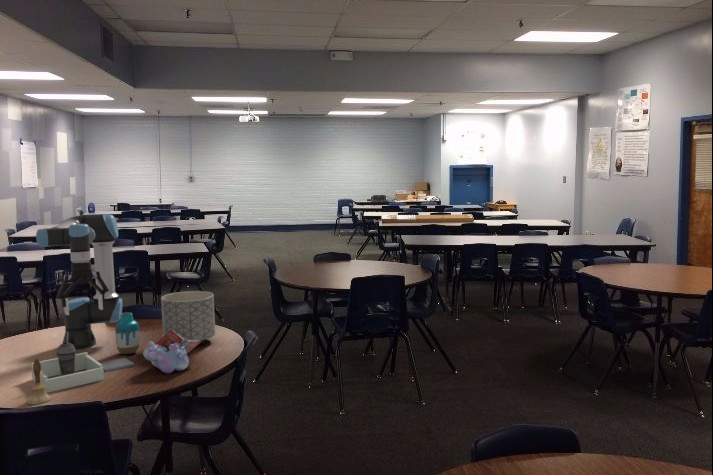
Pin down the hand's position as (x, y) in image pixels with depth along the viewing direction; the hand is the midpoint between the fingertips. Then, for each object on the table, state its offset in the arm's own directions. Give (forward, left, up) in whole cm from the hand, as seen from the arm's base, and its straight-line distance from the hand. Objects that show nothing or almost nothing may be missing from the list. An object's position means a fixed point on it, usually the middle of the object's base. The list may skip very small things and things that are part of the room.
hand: (84, 311), depth 250 cm
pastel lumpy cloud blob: (+15, +30, -28) cm, 43 cm away
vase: (-19, +24, -27) cm, 41 cm away
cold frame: (0, -8, -27) cm, 28 cm away
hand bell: (+17, -23, -28) cm, 40 cm away
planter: (-15, +53, -28) cm, 61 cm away
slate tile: (-5, +13, -27) cm, 31 cm away
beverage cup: (0, -8, -27) cm, 29 cm away
